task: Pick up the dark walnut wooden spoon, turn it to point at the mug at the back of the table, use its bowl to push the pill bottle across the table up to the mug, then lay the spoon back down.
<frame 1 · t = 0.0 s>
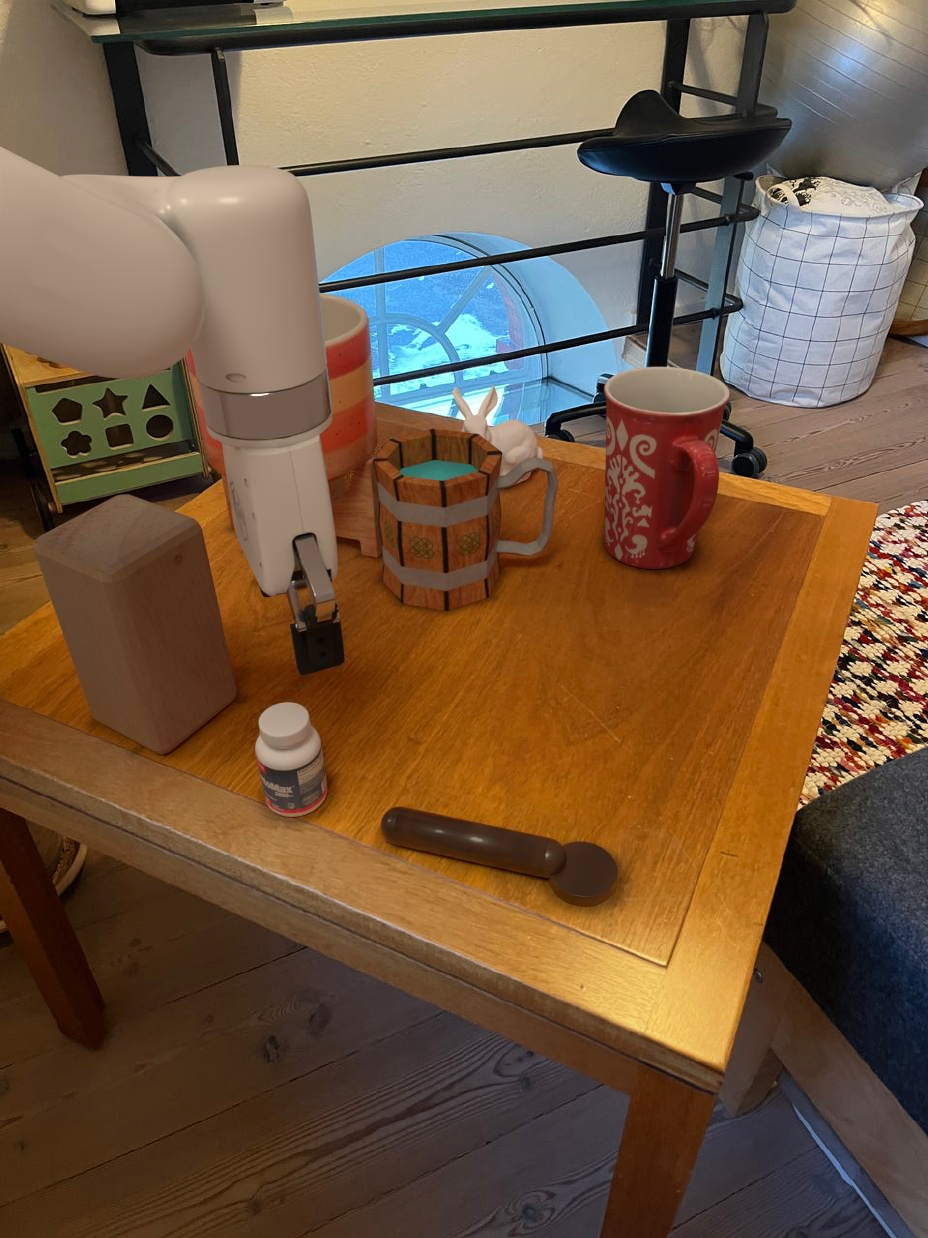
hand: (301, 627, 65), 19 cm above the table, tool pointing down, fingers open, 9 cm apart
pill bottle: (297, 796, 78), on the table
spoon: (496, 859, 72), on the table
mug: (654, 558, 106), on the table
wooden block: (167, 711, 86), on the table
mug 2: (468, 575, 104), on the table
planter: (305, 541, 110), on the table
rabbit: (493, 479, 122), on the table
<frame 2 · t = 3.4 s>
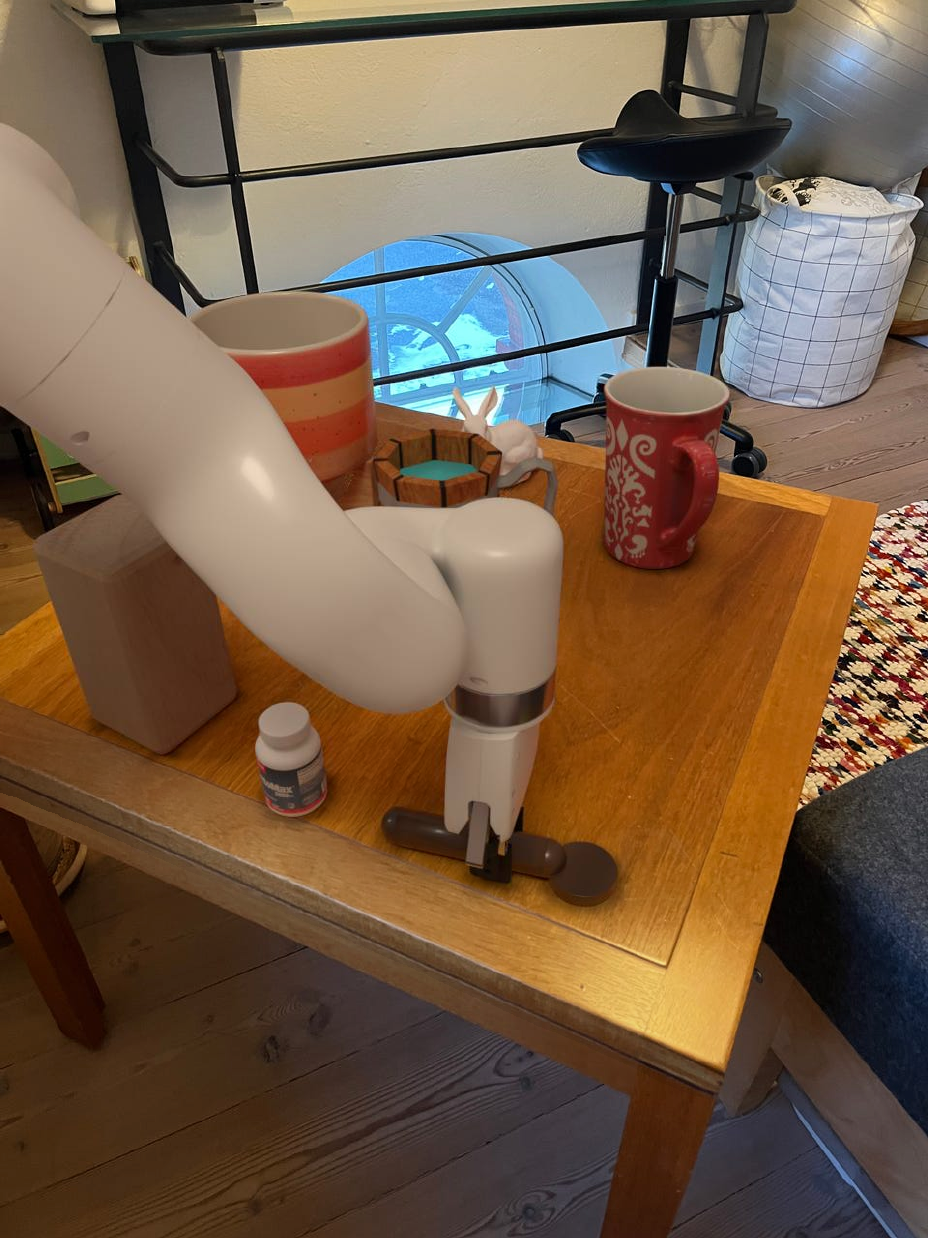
hand: (496, 855, 72), 0 cm above the table, tool pointing down, fingers closed on spoon, 3 cm apart
spoon: (496, 859, 72), on the table, touching gripper
everything else where it was.
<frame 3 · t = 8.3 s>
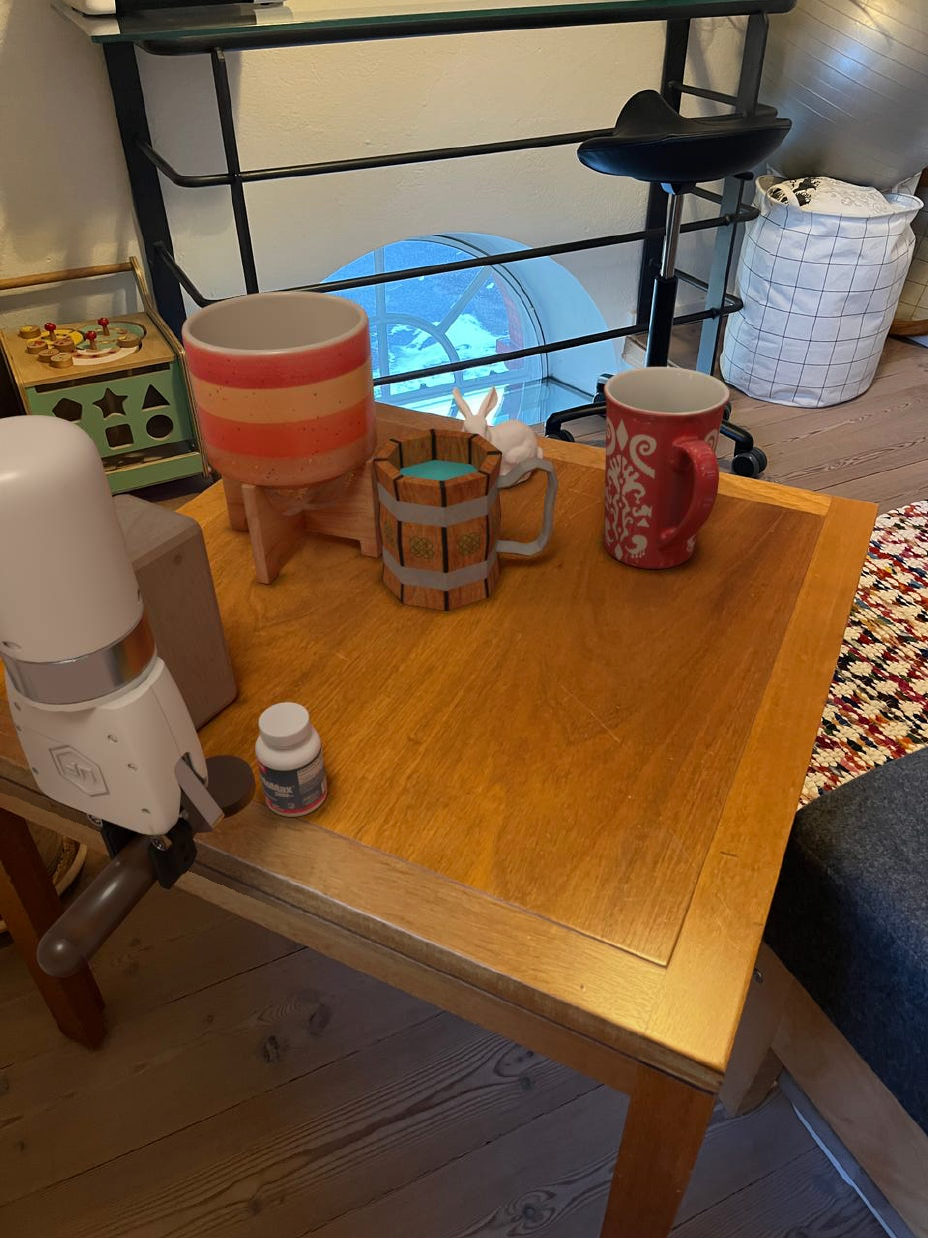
hand: (156, 861, 60), 9 cm above the table, tool pointing down, fingers closed on spoon, 3 cm apart
spoon: (158, 864, 61), point 9 cm above the table, touching gripper
everything else where it was.
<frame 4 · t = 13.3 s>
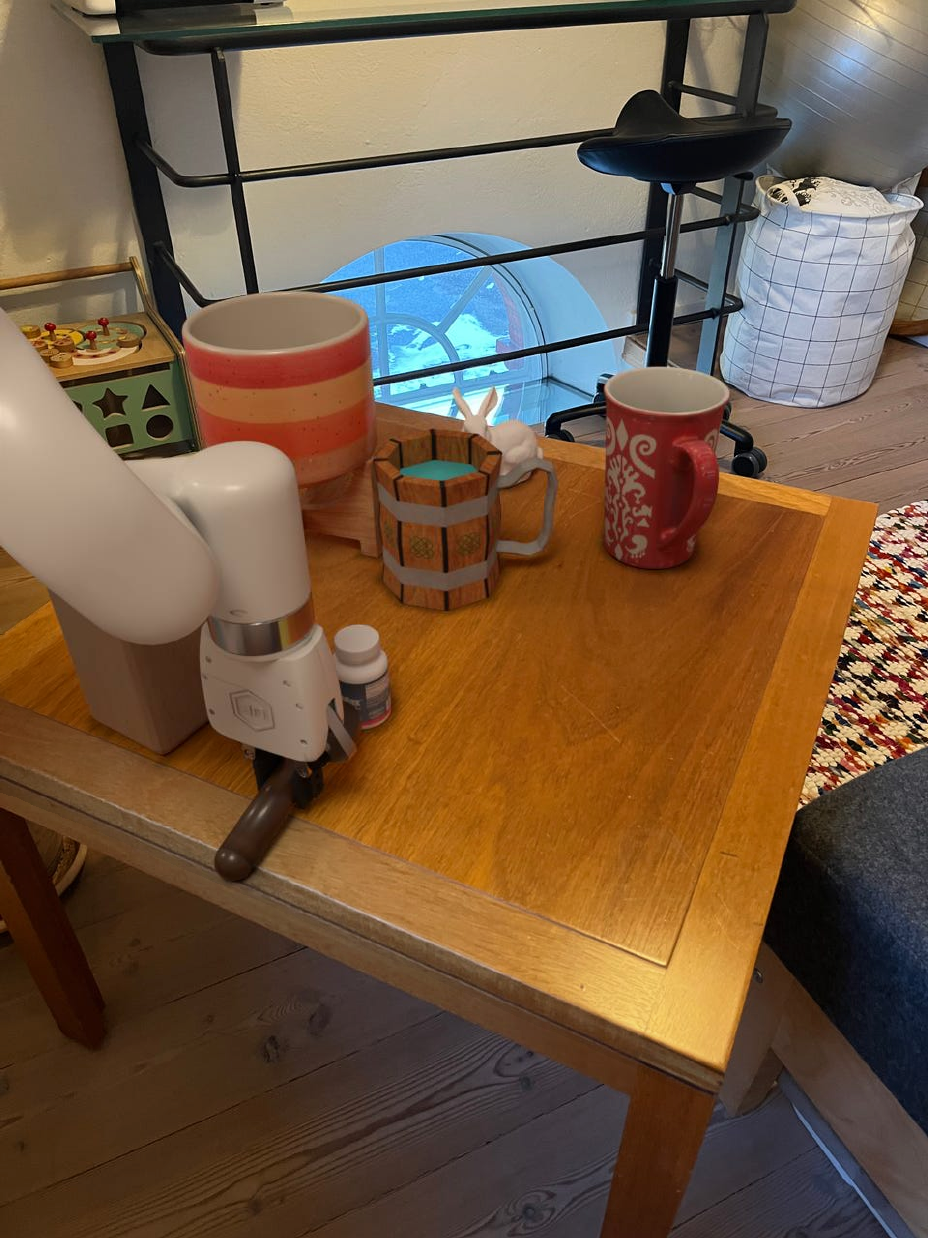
hand: (291, 789, 76), 1 cm above the table, tool pointing down, fingers closed on spoon, 3 cm apart
pill bottle: (363, 713, 86), on the table
spoon: (292, 790, 76), point 1 cm above the table, tilted 8°, touching gripper
everything else where it was.
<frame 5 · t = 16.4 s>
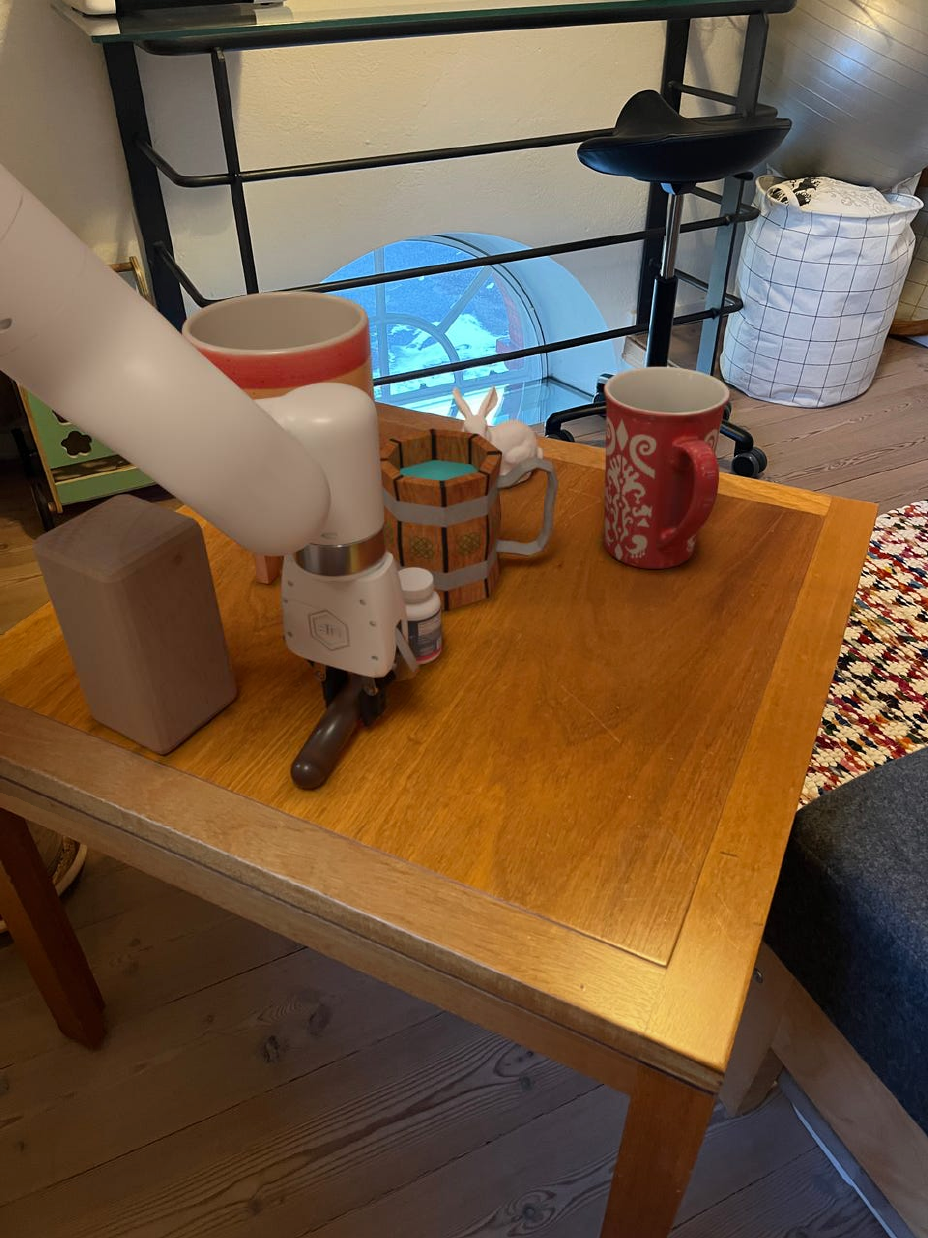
hand: (356, 710, 84), 1 cm above the table, tool pointing down, fingers closed on spoon, 3 cm apart
pill bottle: (416, 651, 93), on the table, touching spoon
spoon: (355, 710, 84), point 2 cm above the table, tilted 11°, touching gripper, pill bottle
everything else where it was.
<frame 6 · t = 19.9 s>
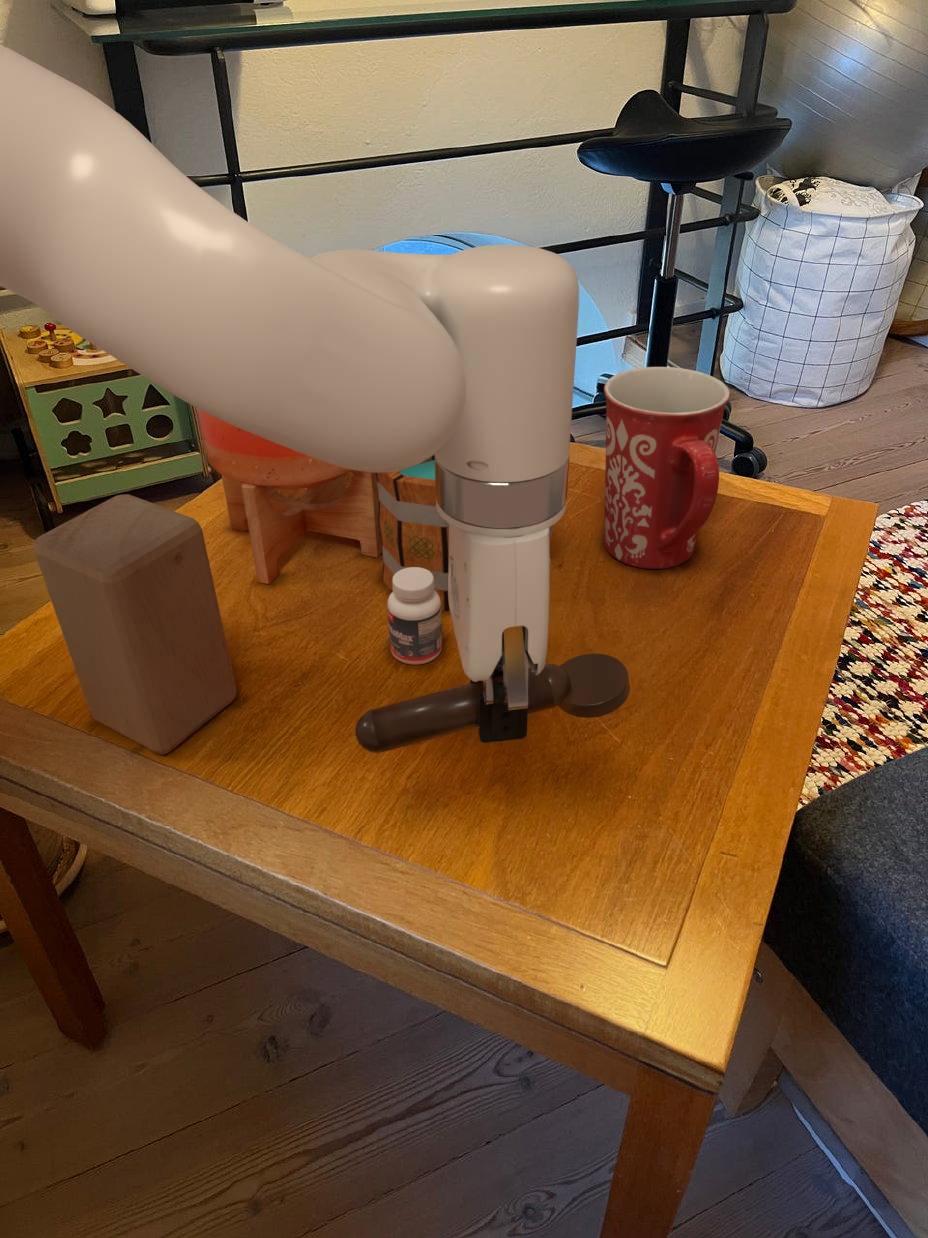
hand: (497, 717, 63), 15 cm above the table, tool pointing down, fingers closed on spoon, 3 cm apart
pill bottle: (416, 651, 93), on the table
spoon: (495, 716, 63), point 15 cm above the table, tilted 11°, touching gripper
everything else where it was.
when the fingers open (1 cm above the table, at t = 23.0 s): spoon drops 2 cm, on the table.
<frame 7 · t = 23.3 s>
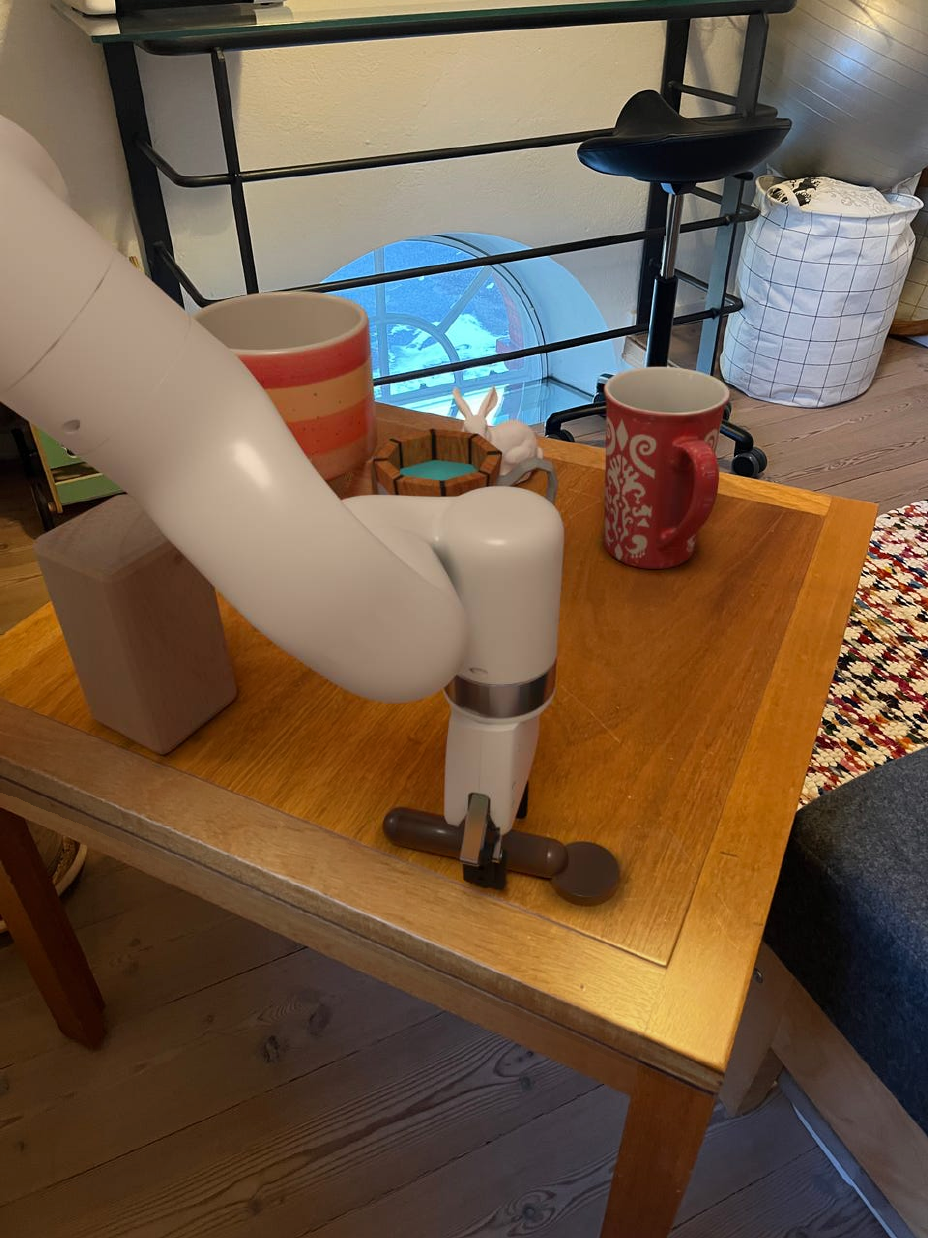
hand: (496, 845, 71), 2 cm above the table, tool pointing down, fingers open, 6 cm apart
spoon: (498, 859, 72), on the table
everything else where it was.
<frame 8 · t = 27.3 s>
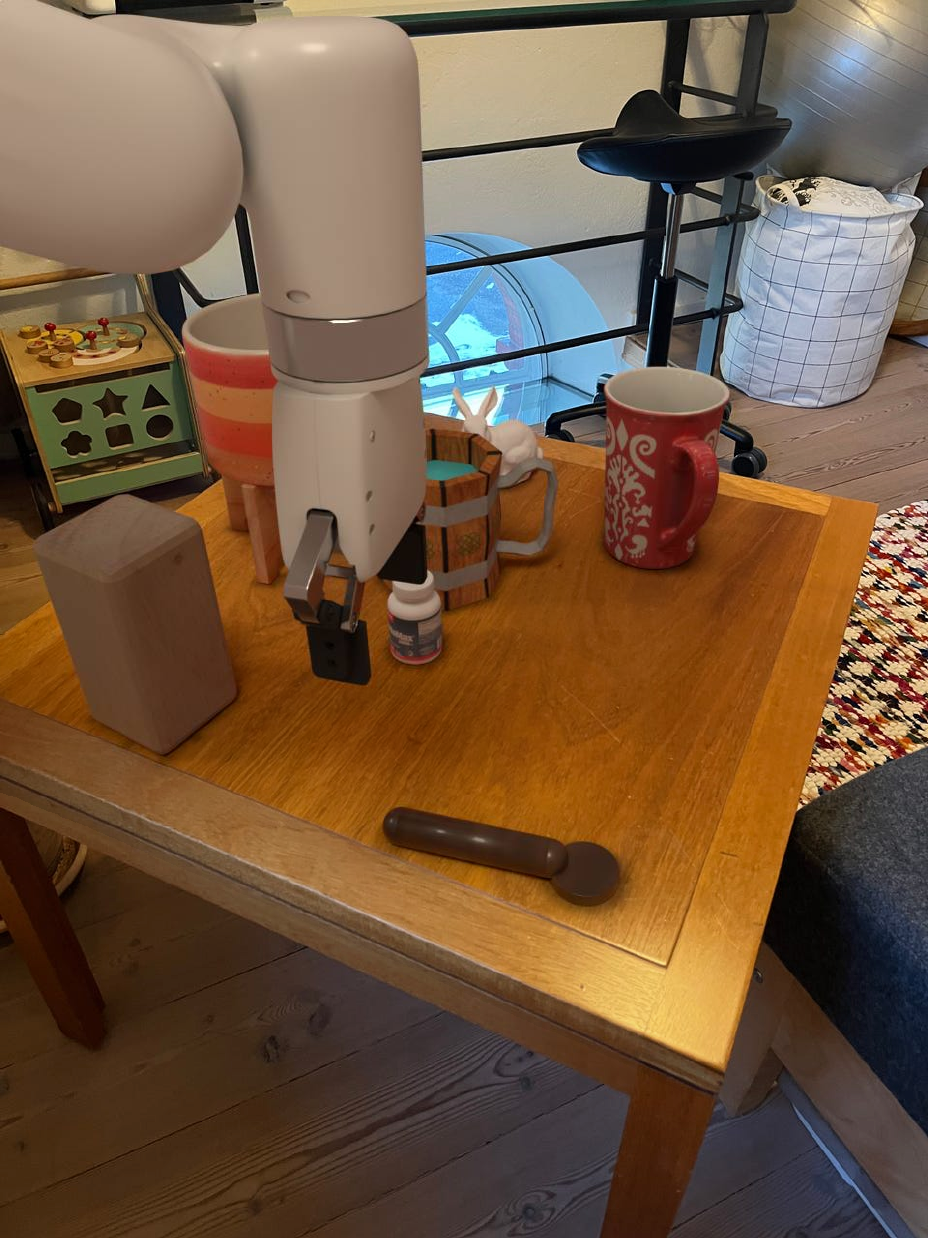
hand: (374, 625, 53), 26 cm above the table, tool pointing down, fingers open, 9 cm apart
nothing on the table moved.
at the end: pill bottle 14.7 cm from the mug 2 (horizontally); pill bottle moved 21.7 cm from its start; pill bottle tilted 0° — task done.
